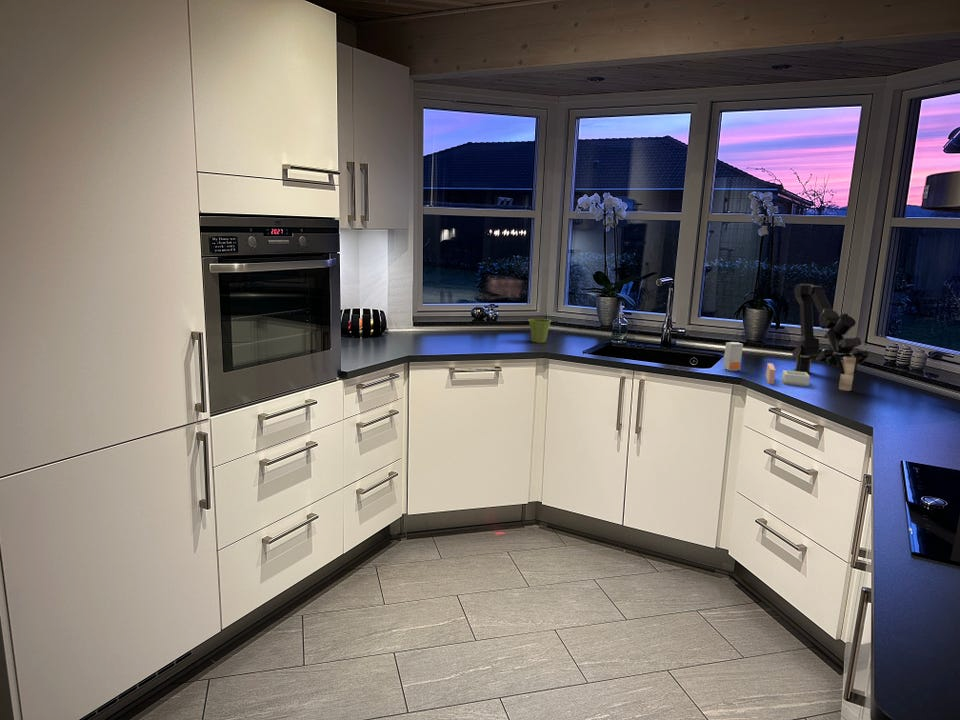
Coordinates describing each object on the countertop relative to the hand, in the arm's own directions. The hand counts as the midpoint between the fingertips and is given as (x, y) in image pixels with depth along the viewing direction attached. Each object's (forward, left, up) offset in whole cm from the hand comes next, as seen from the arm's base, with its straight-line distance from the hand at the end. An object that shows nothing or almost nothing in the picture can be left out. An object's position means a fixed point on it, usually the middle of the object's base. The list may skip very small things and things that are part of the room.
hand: (849, 374), depth 265 cm
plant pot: (-42, -136, -7) cm, 142 cm away
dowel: (-1, -1, -7) cm, 7 cm away
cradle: (-3, -19, -6) cm, 20 cm away
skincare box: (-19, -43, -7) cm, 47 cm away
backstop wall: (-3, -28, -7) cm, 29 cm away
